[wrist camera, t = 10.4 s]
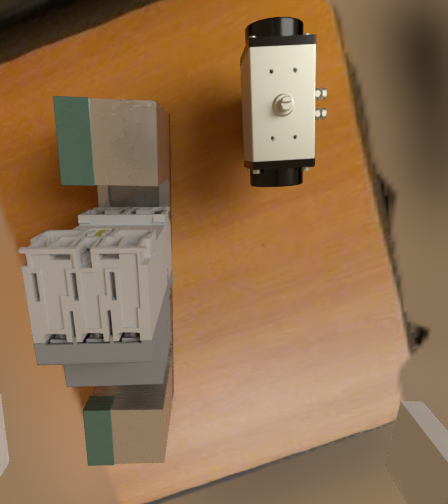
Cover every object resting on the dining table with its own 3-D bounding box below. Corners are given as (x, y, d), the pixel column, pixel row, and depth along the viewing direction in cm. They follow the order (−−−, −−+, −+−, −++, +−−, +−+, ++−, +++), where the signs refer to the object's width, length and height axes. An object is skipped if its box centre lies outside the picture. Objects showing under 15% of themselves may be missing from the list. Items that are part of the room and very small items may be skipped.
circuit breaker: (106, 335, 39) (49, 442, 25) (93, 207, 35) (17, 245, 21) (174, 334, 40) (157, 438, 25) (169, 206, 36) (146, 243, 21)
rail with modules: (97, 112, 35) (52, 96, 25) (170, 114, 35) (155, 99, 25) (115, 392, 44) (88, 465, 33) (173, 391, 44) (164, 463, 34)
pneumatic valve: (240, 179, 37) (255, 191, 26) (234, 55, 34) (249, 6, 23) (292, 175, 38) (330, 186, 26) (291, 52, 34) (335, 2, 23)
